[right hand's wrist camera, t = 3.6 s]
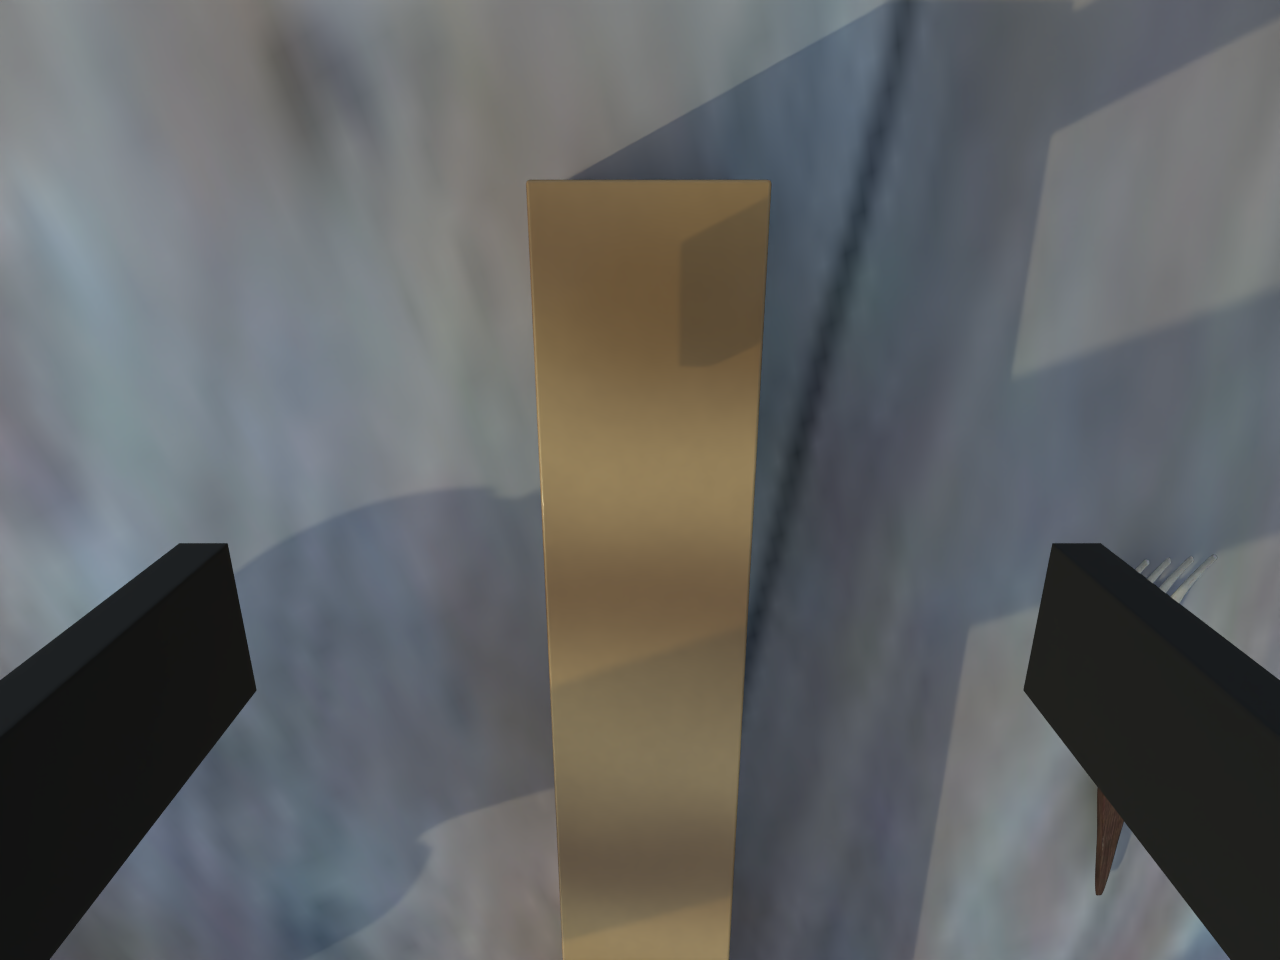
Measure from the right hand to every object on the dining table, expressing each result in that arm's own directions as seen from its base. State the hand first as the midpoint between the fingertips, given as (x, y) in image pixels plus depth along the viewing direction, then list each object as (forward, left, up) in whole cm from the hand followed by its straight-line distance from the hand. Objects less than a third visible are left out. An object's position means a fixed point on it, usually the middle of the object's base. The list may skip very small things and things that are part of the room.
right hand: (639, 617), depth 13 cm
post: (+9, +27, -14) cm, 32 cm away
